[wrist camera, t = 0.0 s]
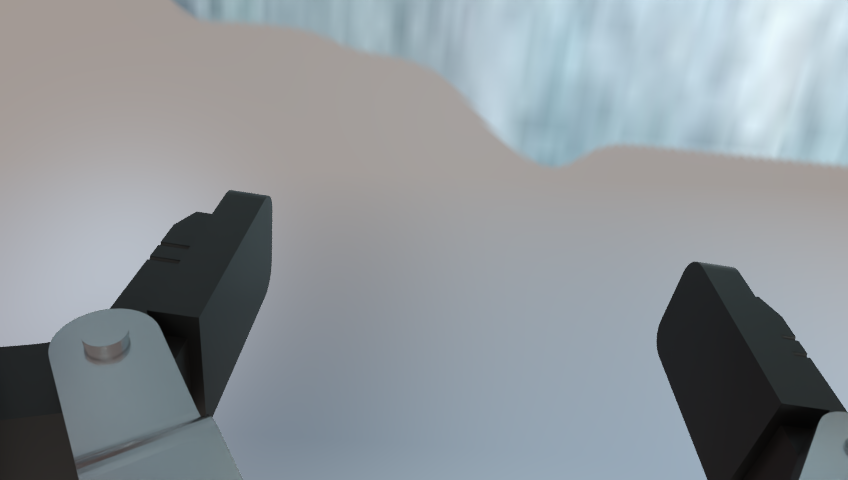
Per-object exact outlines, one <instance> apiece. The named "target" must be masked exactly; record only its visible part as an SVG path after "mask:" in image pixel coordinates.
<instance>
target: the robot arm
mask: <svg viewBox="0 0 848 480" xmlns="http://www.w3.org/2000/svg"><path fill="white" fill-rule="evenodd" d="M271 261H272V201H271V198H270V196H266V195H259V194H252V193H246V192H239V191H233V190H229V191H228V192H227V193H226V195H225V196H224V197H223V199H222V200H221V202H220V203H219V205H218V206H217V208H216V209H215V211H214V212H213V214H208V213H202V212H195V213H194V214H192V215H190V216H188V217H187V218H185V219H183V220H181V221H180V222H178V223H176V224H174V225H173V227H172V228H171V229H170V231H169V232H168V233H167V235H166V236H165V237H164V238H163V240H162V241H161V245H158V246H157V248H156V249H155V250H154V252H153V253H152V254H151V256H150V260H147V261H146V262H145V263H144V265H143V266H142V267H141V269H140V270H139V271H138V272H137V274H136V275H135V276H134V278H133V279H132V280H131V282H130V283H129V284H128V286H127V287H126V288H125V290H124V291H123V292H122V293H121V295H120V296H119V297H118V299H117V300H116V301H115V303H114V304H113V305H112V307H111V308H110V309H105V310H100V311H96V312H92V313H88V314H86V315H83V316H81V317H78V318H77V319H75V320H73V321H71V322H69V323H68V324H66V325H65V326H64V327H62V328H61V329H60V330H59V331H58V332H57V333H56V334H55V336H54V337H53V339H52V340H51V342H48V343H42V344H32V345H21V346H9V347H0V480H243V478H242V476H241V474H240V472H239V470H238V468H237V466H236V464H235V462H234V459H233V457H232V455H231V453H230V451H229V449H228V447H227V445H226V442H225V441H224V439H223V436H222V434H221V432H220V430H219V428H218V426H217V424H216V422H215V421H214V419H213V418H212V417H213V414H214V412H215V409H216V408H217V405H218V403H219V401H220V398H221V396H222V394H223V392H224V389H225V387H226V385H227V382H228V380H229V378H230V376H231V373H232V371H233V369H234V366H235V364H236V362H237V359H238V357H239V355H240V353H241V350H242V348H243V345H244V343H245V341H246V339H247V337H248V334H249V332H250V330H251V327H252V325H253V323H254V321H255V318H256V316H257V314H258V311H259V309H260V307H261V304H262V302H263V300H264V298H265V295H266V292H267V288H268V285H269V280H270V274H271ZM657 350H658V354H659V357H660V360H661V362H662V365H663V367H664V370H665V373H666V375H667V378H668V380H669V383H670V385H671V388H672V390H673V393H674V396H675V398H676V401H677V403H678V405H679V408H680V411H681V413H682V416H683V418H684V421H685V423H686V426H687V428H688V431H689V433H690V436H691V439H692V441H693V444H694V446H695V449H696V451H697V454H698V457H699V459H700V461H701V464H702V467H703V469H704V472H705V474H706V477H707V480H848V412H847V411H846V409H845V408H844V407H843V405H842V404H841V402H840V401H839V399H838V398H837V396H836V395H835V393H834V392H833V391H832V389H831V388H830V386H829V385H828V383H827V382H826V380H825V379H824V377H823V376H822V374H821V373H820V372H819V370H818V369H817V367H816V366H815V364H814V363H813V361H812V360H811V359H810V358H807V353H806V351H805V350H804V348H803V347H802V345H801V344H800V343H799V341H795V335H794V334H793V333H792V331H791V330H790V328H789V327H788V325H787V324H786V322H785V321H784V319H783V318H782V317H781V316H780V315H779V314H778V313H777V312H776V311H774V310H773V309H772V308H771V307H770V306H769V305H767V304H766V303H765V302H764V301H763V300H761V299H760V298H759V297H755V295H754V294H753V292H752V291H751V289H750V288H749V286H748V285H747V283H746V282H745V280H744V279H743V277H742V276H741V275H740V273H739V272H738V270H737V269H735V268H733V267H727V266H720V265H714V264H707V263H701V262H692V263H690V264H689V265H688V266H687V268H686V269H685V271H684V272H683V275H682V277H681V279H680V281H679V283H678V285H677V287H676V290H675V292H674V294H673V296H672V298H671V300H670V302H669V305H668V307H667V309H666V311H665V313H664V315H663V317H662V320H661V322H660V324H659V328H658V333H657Z"/></svg>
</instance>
